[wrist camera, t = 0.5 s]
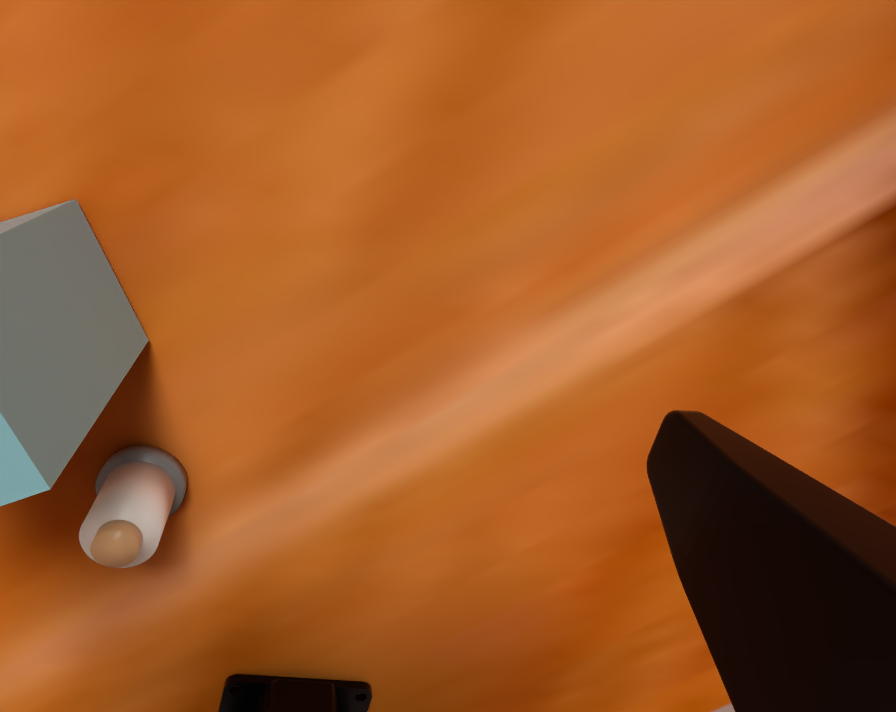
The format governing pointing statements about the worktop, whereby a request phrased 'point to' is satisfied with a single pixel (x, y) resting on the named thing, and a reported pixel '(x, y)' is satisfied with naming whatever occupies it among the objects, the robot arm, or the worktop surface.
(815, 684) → the robot arm
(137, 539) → the post
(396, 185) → the worktop surface
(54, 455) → the pale teal block
